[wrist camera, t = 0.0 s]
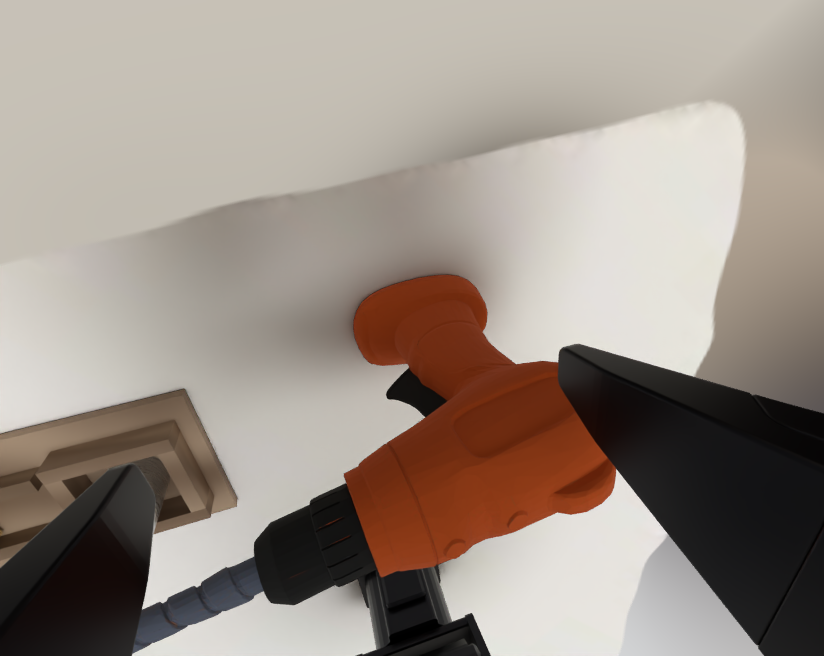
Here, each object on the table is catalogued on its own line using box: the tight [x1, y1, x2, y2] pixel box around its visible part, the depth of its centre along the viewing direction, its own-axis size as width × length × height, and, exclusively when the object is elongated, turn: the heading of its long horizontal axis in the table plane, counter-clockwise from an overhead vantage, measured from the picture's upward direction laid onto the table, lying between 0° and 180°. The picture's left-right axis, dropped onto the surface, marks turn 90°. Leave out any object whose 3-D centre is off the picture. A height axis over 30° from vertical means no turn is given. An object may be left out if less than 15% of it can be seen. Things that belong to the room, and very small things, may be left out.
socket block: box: [0, 389, 237, 567], centre depth 23 cm, size 9×17×2 cm, turn 97°
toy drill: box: [132, 275, 616, 654], centre depth 18 cm, size 5×19×15 cm, turn 101°
